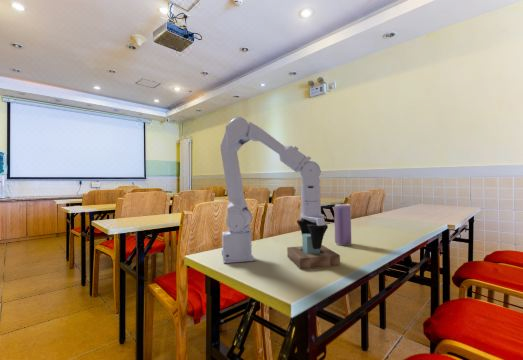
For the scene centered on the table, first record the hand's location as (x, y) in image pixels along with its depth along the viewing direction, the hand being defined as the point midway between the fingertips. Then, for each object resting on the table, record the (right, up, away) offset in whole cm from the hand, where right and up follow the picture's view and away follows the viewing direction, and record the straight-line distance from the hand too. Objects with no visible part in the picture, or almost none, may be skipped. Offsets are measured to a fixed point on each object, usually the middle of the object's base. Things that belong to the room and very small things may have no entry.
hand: (311, 245), depth 78 cm
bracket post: (0, -5, 0) cm, 5 cm away
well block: (0, -5, 0) cm, 5 cm away
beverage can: (+16, -5, +19) cm, 25 cm away
